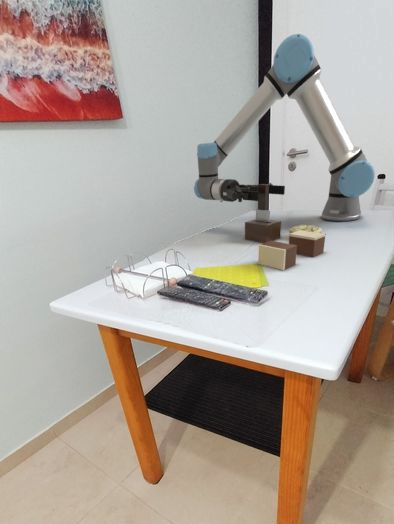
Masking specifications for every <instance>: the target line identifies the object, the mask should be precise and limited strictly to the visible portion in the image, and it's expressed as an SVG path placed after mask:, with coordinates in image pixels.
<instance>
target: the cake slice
mask: <svg viewBox="0 0 394 524" xmlns="http://www.w3.org/2000/svg"><path fill="white" fill-rule="evenodd" d="M296 251H297V245H292V244H289V243H287V242H281V241H276V240H274V241H269V242H266V243H260V244H258V257H257V259H258V260H257V261H258V265H260V266H265V267H269V268H273V269H277V270H281V271H285V270H287V269H290V268H292V267H294V266H296V261H297V254H296Z"/></svg>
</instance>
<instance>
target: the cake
mask: <svg viewBox="0 0 394 524" xmlns="http://www.w3.org/2000/svg"><path fill="white" fill-rule="evenodd" d="M325 242H326V233H322V232H321V233H316V232H309V231H303V230H299V231H296V232H293V233H291V234H290V233H289V235H288V244H292V245H297V251H296V255H300V256H304V257H310V258H315V257H316V256H318V255H319V256H320V255H321V254H324V249H325Z"/></svg>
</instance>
